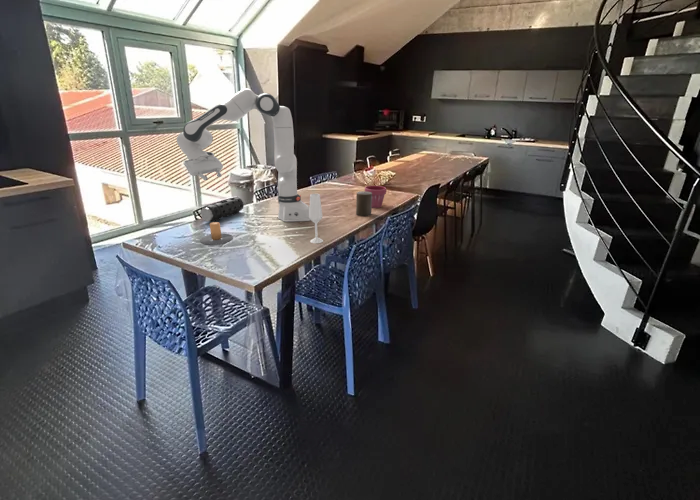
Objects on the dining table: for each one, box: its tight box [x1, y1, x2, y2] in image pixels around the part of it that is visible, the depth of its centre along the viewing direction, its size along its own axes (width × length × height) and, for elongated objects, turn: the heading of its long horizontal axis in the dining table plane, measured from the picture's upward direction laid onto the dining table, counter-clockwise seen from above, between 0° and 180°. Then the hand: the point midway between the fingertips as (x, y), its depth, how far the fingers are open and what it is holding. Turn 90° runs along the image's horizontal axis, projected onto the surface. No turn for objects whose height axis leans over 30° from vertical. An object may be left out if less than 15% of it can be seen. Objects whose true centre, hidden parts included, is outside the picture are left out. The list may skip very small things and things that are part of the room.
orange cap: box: [209, 221, 222, 240], centre depth 194 cm, size 5×5×8 cm
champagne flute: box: [308, 193, 324, 244], centre depth 188 cm, size 7×7×24 cm
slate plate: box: [199, 232, 234, 246], centre depth 196 cm, size 16×16×1 cm
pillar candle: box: [355, 190, 372, 217], centre depth 236 cm, size 10×10×15 cm
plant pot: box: [364, 185, 387, 209], centre depth 254 cm, size 14×14×13 cm
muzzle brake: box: [200, 196, 244, 223], centre depth 230 cm, size 10×28×10 cm, turn 155°
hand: (213, 178), depth 204 cm, fingers open, 8 cm apart
